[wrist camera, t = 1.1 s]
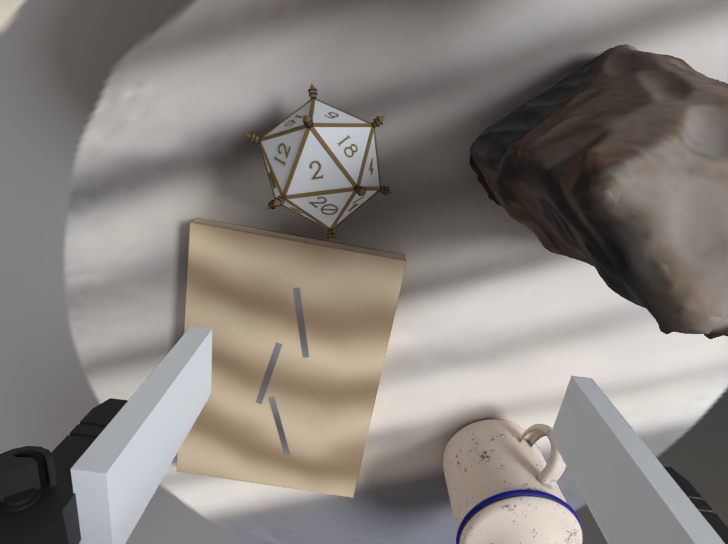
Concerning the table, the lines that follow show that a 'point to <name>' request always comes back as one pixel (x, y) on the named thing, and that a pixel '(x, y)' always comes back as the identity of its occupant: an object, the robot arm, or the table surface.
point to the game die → (322, 162)
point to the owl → (625, 181)
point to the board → (287, 354)
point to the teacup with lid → (507, 486)
